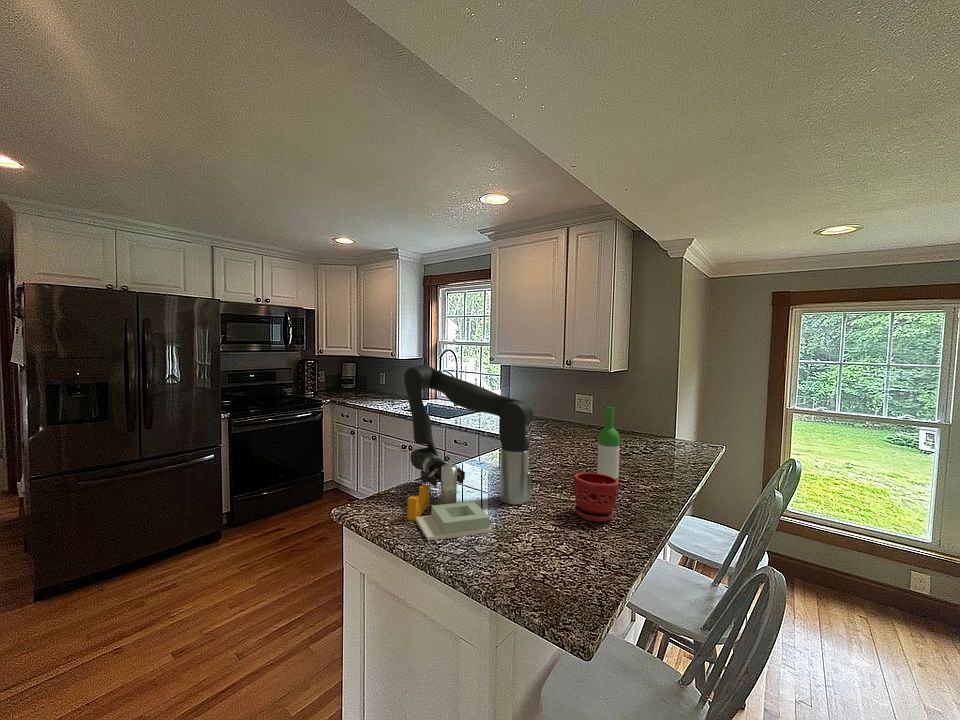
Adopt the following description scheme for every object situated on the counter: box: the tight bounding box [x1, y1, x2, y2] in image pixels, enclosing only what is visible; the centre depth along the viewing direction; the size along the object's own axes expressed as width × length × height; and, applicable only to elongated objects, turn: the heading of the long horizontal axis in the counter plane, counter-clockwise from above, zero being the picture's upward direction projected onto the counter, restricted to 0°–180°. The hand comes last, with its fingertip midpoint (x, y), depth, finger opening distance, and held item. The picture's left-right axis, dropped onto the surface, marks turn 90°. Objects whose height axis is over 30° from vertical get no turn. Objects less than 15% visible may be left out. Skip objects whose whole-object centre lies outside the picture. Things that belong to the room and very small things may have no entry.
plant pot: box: [573, 472, 620, 522], centre depth 125 cm, size 13×13×12 cm
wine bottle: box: [596, 406, 620, 484], centre depth 157 cm, size 8×8×30 cm
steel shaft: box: [439, 463, 458, 505], centre depth 129 cm, size 5×5×13 cm
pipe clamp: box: [406, 485, 430, 522], centre depth 124 cm, size 12×4×6 cm, turn 169°
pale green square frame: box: [415, 500, 493, 542], centre depth 115 cm, size 18×14×4 cm
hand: (448, 481), depth 129 cm, fingers open, 8 cm apart
